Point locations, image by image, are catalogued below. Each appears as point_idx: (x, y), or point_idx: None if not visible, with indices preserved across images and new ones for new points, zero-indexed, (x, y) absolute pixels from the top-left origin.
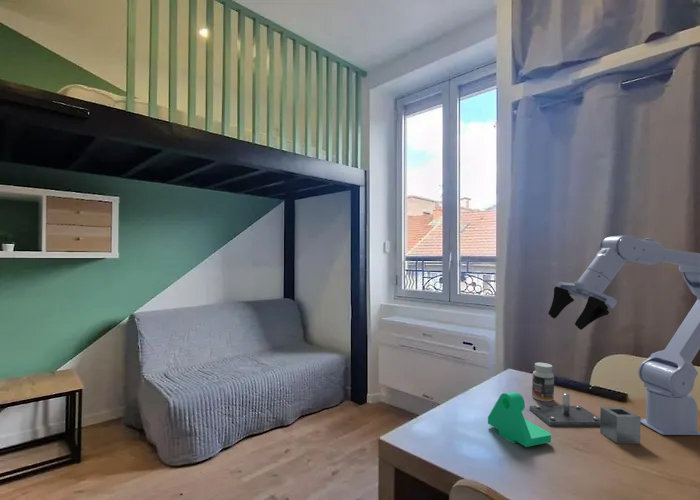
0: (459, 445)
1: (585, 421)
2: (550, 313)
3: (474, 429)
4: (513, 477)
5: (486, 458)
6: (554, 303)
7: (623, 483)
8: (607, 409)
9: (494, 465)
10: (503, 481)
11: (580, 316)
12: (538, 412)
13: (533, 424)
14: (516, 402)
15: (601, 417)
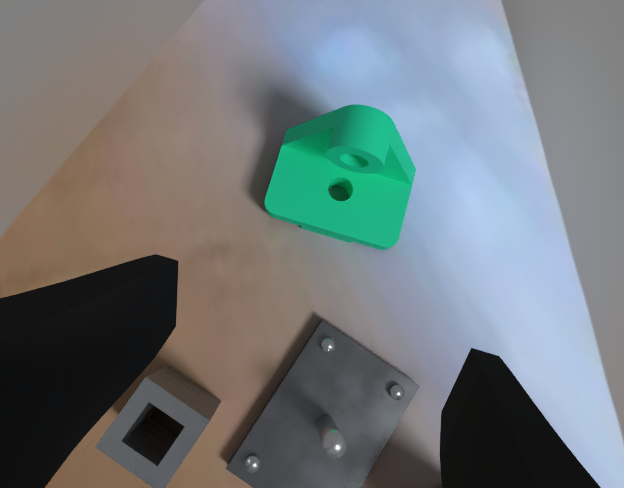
0: (383, 50)
1: (264, 415)
2: (473, 351)
3: (415, 139)
4: (246, 29)
5: (317, 49)
6: (533, 449)
7: (99, 176)
8: (186, 418)
9: (292, 38)
10: (250, 4)
11: (102, 281)
12: (376, 357)
13: (321, 225)
14: (338, 121)
15: (210, 409)
